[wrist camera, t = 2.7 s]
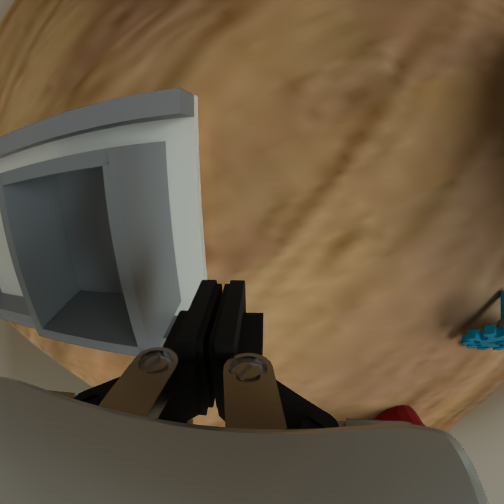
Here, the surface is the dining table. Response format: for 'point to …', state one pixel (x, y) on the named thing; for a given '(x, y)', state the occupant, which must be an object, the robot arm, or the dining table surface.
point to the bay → (113, 135)
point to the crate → (95, 246)
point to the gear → (487, 334)
